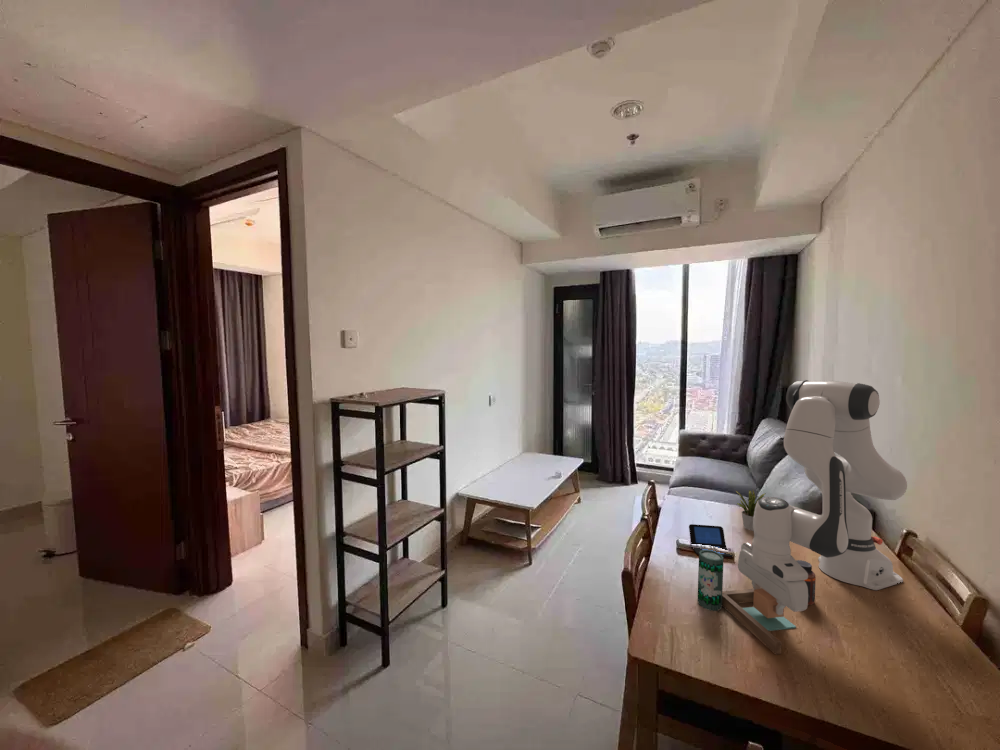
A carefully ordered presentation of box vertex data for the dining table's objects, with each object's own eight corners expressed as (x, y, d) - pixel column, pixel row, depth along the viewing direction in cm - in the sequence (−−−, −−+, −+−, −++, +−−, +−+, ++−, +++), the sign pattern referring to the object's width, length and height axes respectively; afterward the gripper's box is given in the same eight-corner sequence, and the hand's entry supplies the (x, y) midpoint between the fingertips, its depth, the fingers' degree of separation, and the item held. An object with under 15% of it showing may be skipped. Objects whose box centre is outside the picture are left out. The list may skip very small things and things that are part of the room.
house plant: (782, 537, 158) (784, 497, 157) (747, 537, 159) (749, 497, 158) (759, 522, 173) (761, 485, 172) (727, 521, 173) (729, 485, 172)
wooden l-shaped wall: (779, 595, 121) (780, 586, 121) (848, 645, 101) (848, 634, 100) (717, 601, 118) (718, 591, 118) (775, 654, 98) (776, 642, 97)
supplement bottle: (809, 595, 121) (811, 560, 120) (818, 607, 115) (820, 570, 115) (786, 592, 123) (788, 556, 122) (793, 603, 117) (795, 566, 116)
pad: (769, 606, 116) (769, 605, 116) (796, 627, 107) (796, 626, 107) (741, 609, 114) (741, 608, 114) (766, 631, 106) (766, 629, 106)
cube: (753, 606, 113) (753, 589, 112) (768, 604, 113) (769, 588, 113) (767, 618, 108) (768, 600, 107) (783, 616, 108) (784, 598, 108)
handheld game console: (697, 556, 144) (697, 536, 144) (687, 542, 155) (688, 523, 155) (734, 559, 143) (734, 539, 142) (722, 544, 153) (722, 525, 153)
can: (695, 605, 116) (697, 555, 116) (700, 595, 121) (702, 547, 120) (718, 613, 113) (720, 562, 112) (723, 603, 117) (725, 554, 116)
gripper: (733, 540, 119) (731, 584, 120) (792, 579, 99) (789, 632, 100) (751, 539, 120) (749, 582, 121) (814, 577, 100) (811, 629, 101)
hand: (768, 605), depth 110 cm, fingers closed on cube, 5 cm apart
